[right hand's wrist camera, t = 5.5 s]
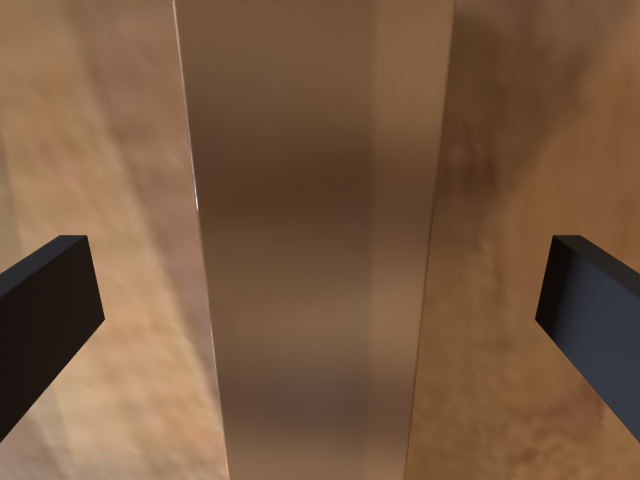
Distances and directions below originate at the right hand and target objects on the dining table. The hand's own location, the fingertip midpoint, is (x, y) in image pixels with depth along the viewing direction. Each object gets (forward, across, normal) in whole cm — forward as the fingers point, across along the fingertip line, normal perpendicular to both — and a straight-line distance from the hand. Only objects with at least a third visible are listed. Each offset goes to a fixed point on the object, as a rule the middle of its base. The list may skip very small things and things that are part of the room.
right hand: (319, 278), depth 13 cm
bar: (+7, 0, -28) cm, 28 cm away
